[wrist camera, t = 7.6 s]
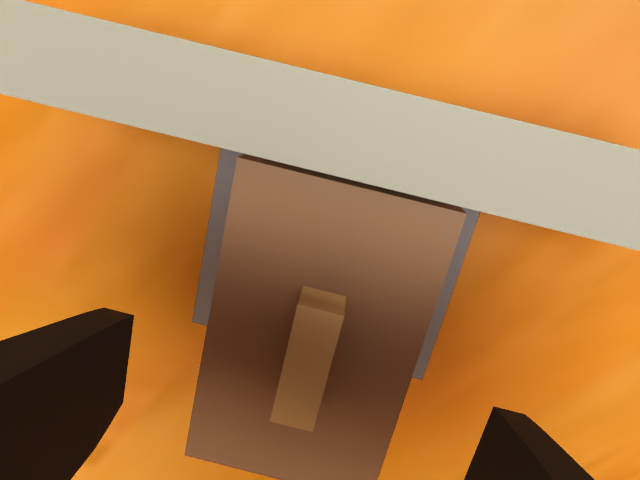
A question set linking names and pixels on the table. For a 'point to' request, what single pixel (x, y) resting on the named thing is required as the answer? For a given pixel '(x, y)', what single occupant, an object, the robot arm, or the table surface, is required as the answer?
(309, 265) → the cabinet block
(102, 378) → the robot arm
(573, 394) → the table surface
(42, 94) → the wall board
